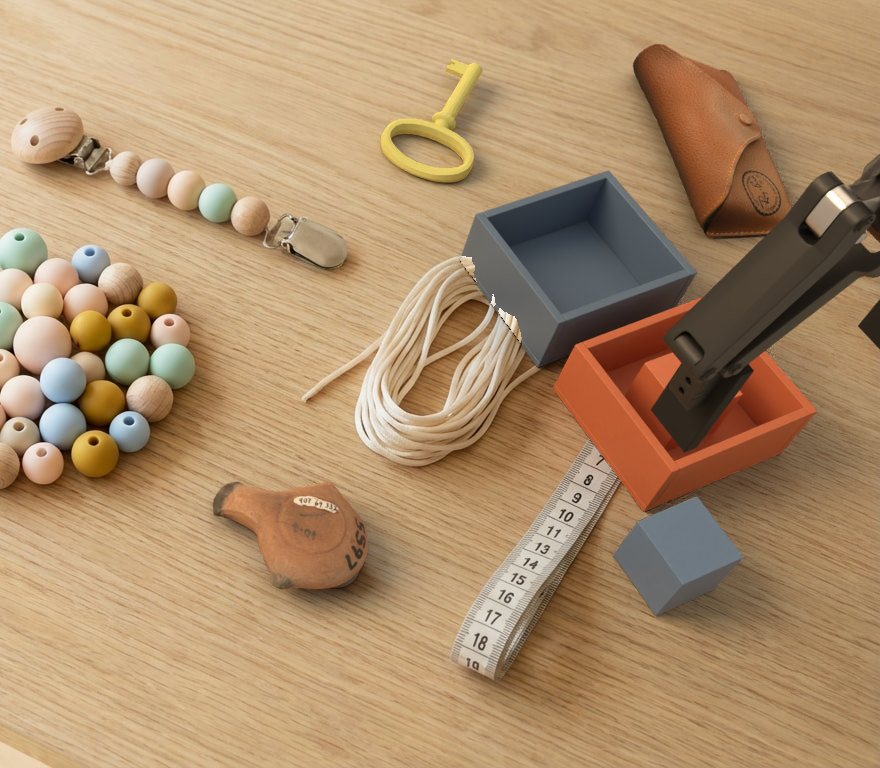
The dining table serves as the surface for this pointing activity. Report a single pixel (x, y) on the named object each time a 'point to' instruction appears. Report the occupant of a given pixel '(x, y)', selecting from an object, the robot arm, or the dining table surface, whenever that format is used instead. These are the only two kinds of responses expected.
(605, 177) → the slate bin
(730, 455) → the terracotta bin
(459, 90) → the key
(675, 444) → the terracotta block
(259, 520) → the oil lamp
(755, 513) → the dining table surface
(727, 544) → the slate block
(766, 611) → the dining table surface
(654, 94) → the sunglasses case
